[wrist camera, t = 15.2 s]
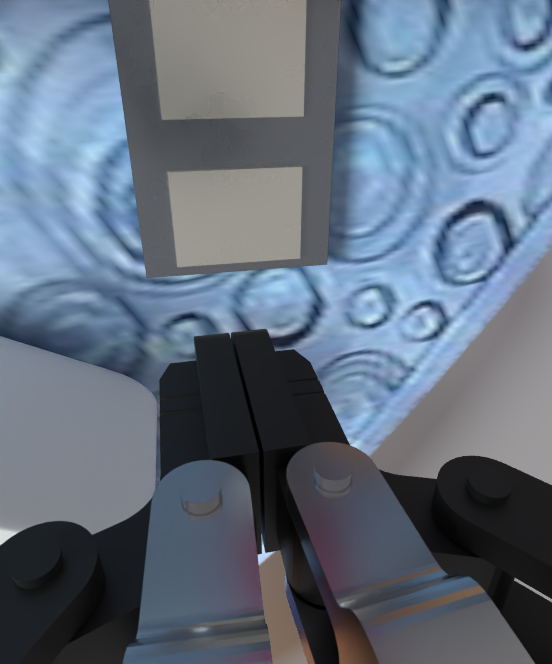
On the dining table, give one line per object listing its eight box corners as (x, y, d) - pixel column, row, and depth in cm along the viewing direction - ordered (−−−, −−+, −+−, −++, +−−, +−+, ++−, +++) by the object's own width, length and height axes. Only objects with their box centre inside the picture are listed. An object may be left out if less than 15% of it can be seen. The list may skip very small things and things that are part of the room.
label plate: (107, -24, 19) (103, -29, 18) (333, -19, 21) (344, -23, 19) (147, 268, 25) (146, 280, 24) (320, 256, 27) (328, 266, 25)
